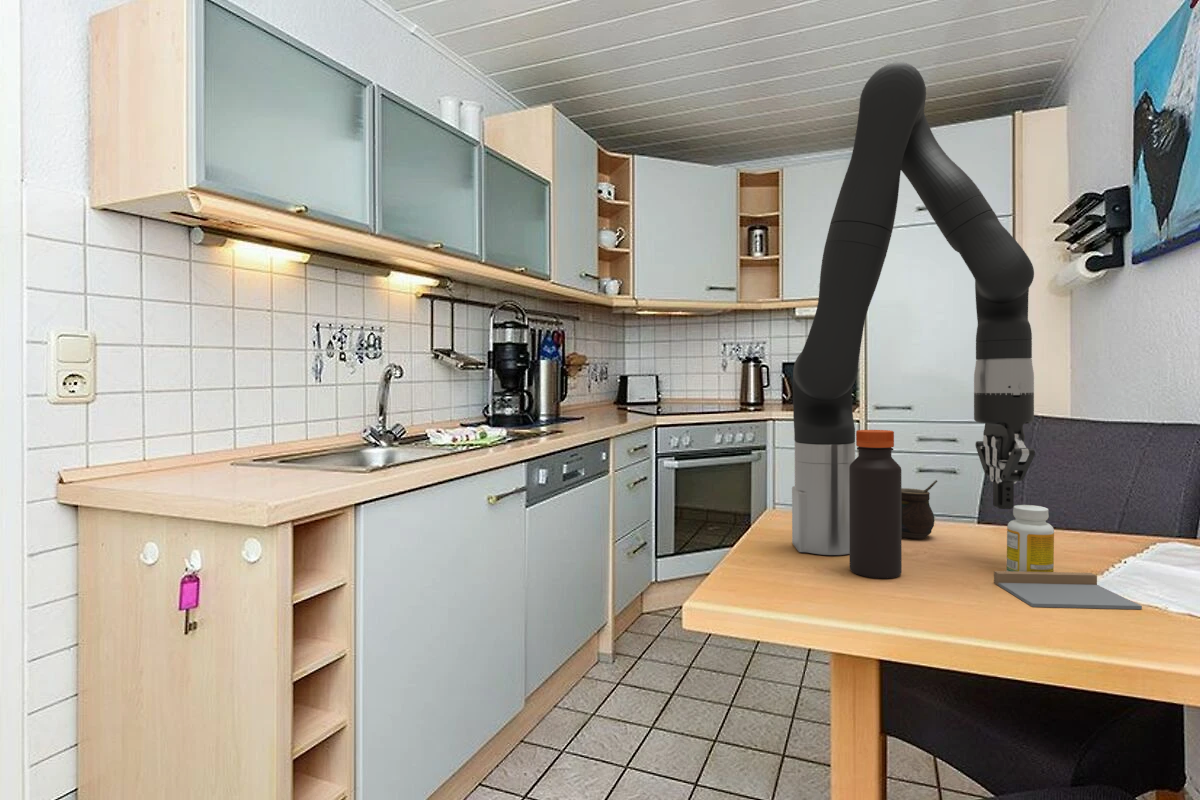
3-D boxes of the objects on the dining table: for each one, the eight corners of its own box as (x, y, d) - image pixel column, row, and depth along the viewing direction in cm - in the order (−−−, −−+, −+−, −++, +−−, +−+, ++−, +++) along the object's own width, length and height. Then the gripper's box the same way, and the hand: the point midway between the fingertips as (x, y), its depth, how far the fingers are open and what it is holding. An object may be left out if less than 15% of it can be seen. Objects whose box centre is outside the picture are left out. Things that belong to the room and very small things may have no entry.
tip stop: (1032, 606, 78) (1032, 593, 78) (993, 582, 88) (993, 570, 88) (1141, 609, 77) (1141, 595, 77) (1091, 584, 86) (1091, 572, 86)
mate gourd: (883, 531, 119) (883, 475, 119) (927, 532, 118) (928, 476, 118) (895, 540, 112) (895, 481, 111) (942, 542, 111) (943, 482, 110)
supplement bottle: (1000, 576, 90) (1000, 507, 90) (1015, 569, 94) (1015, 502, 94) (1045, 586, 86) (1046, 512, 86) (1059, 578, 90) (1060, 507, 89)
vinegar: (861, 563, 98) (861, 428, 98) (909, 572, 93) (909, 430, 93) (841, 572, 93) (840, 431, 93) (889, 582, 88) (889, 433, 88)
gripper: (956, 390, 104) (957, 500, 104) (998, 391, 91) (998, 517, 91) (1007, 389, 103) (1007, 500, 103) (1056, 390, 90) (1056, 517, 90)
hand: (1003, 508), depth 97 cm, fingers closed
